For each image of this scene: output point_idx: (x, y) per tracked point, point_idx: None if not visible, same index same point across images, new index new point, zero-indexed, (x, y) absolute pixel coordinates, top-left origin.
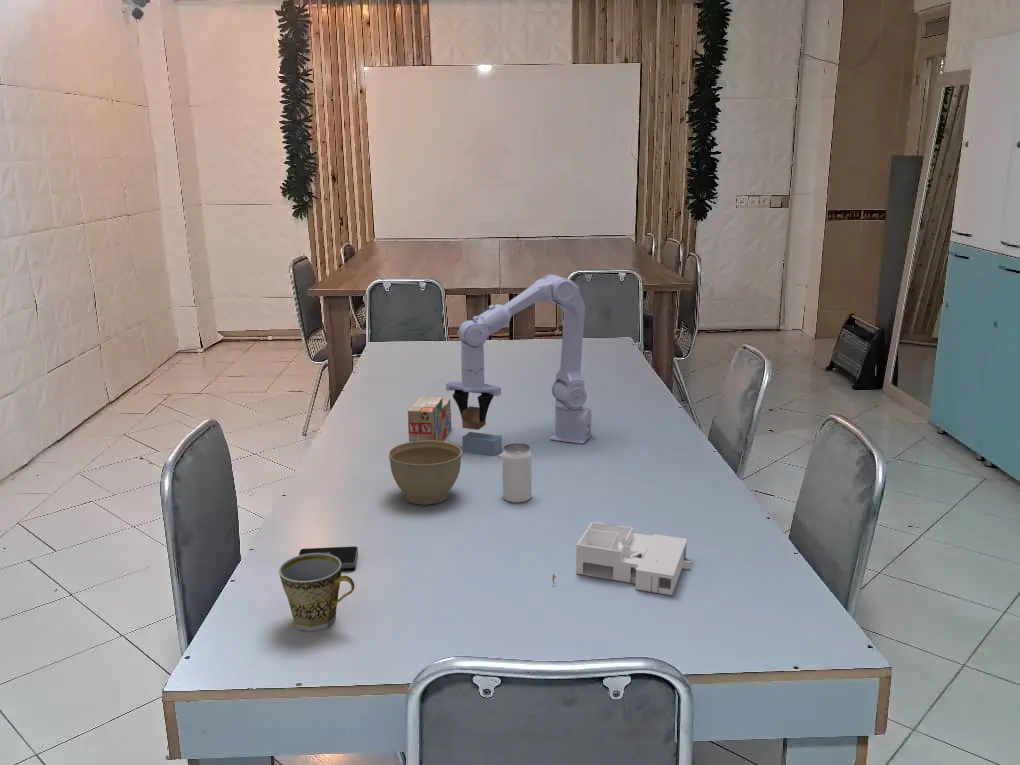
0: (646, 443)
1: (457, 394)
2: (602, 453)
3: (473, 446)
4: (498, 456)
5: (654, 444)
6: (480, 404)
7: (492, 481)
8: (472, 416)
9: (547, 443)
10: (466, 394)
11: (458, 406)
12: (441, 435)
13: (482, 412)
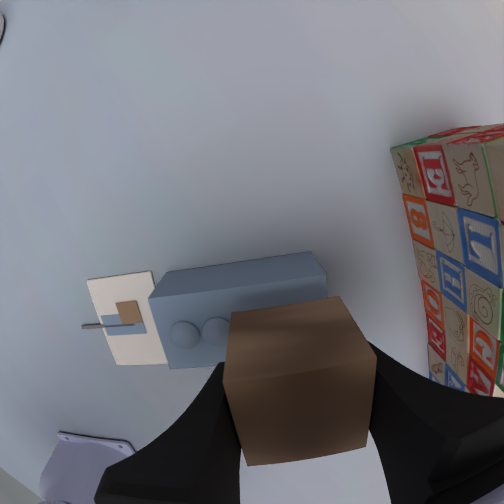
0: (11, 445)
1: (481, 450)
2: (3, 393)
3: (261, 268)
4: (149, 271)
5: (3, 442)
6: (191, 445)
7: (54, 65)
8: (276, 354)
9: (117, 423)
10: (403, 502)
11: (423, 378)
12: (437, 300)
13: (196, 400)
